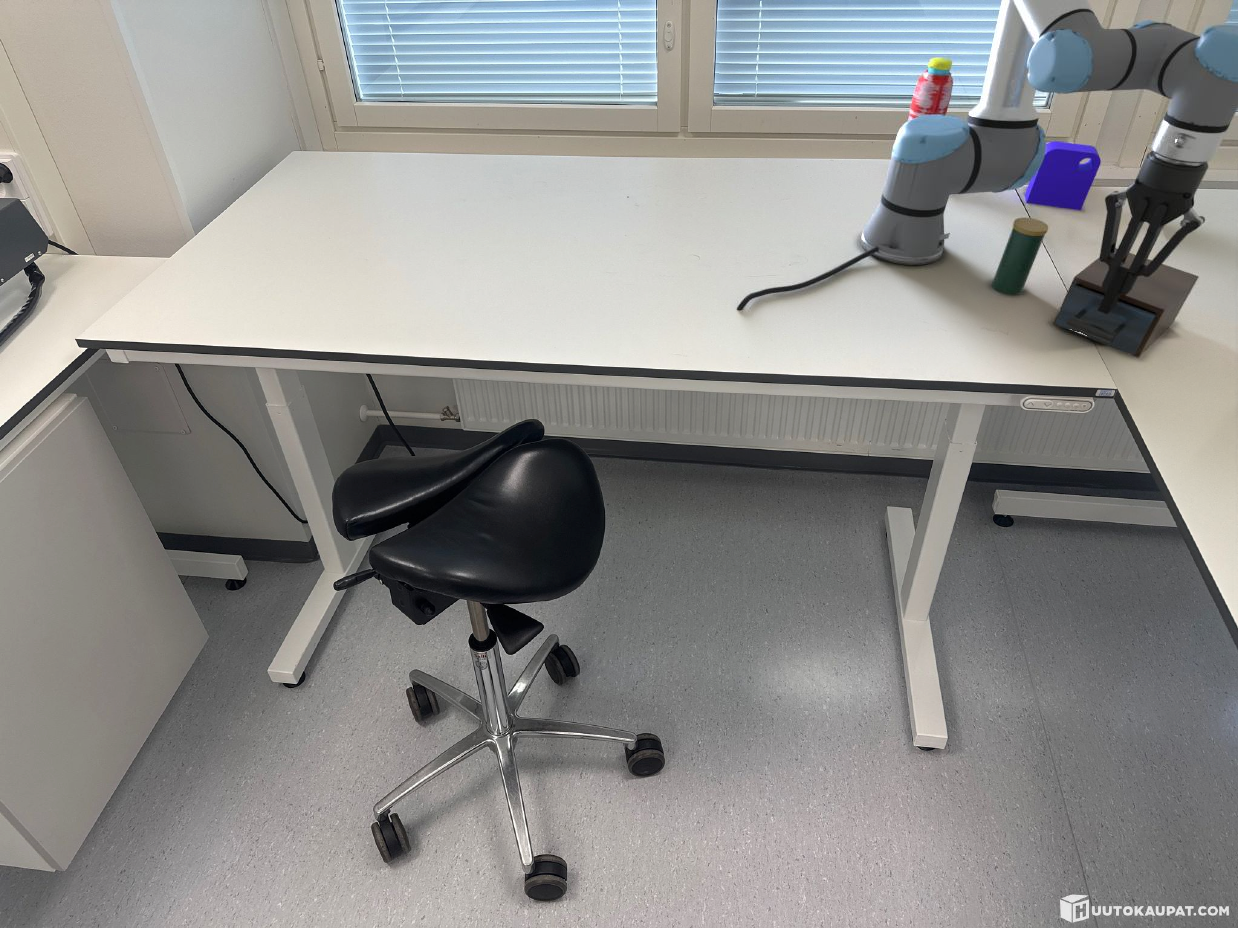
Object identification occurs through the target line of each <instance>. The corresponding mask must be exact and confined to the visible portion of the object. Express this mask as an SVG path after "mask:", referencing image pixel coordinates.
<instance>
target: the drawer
mask: <svg viewBox="0 0 1238 928" xmlns="http://www.w3.org/2000/svg"><path fill="white" fill-rule="evenodd" d="M1104 296H1105V294H1104V293H1102V292H1099V291H1096V290H1094V289H1091V288H1088V287H1086V286H1083V285H1082V287H1080V286H1077V285H1073V286H1072V287H1071V289H1070V291H1069V293H1068V295H1067V298H1066V300H1065V302H1064V304H1063V307H1062V309H1061V311H1060V313H1059V316H1058V318H1057V320H1056V322H1055V324H1054V325H1056V324H1057V325H1056V326H1058V325H1059V326H1058V327H1061V328H1063V327H1064V328H1063V329H1065V328H1066V330H1068V329H1072V330H1073V331H1077V332H1081V333H1083V334H1085V335H1087V337H1086V338H1088V337H1089V338H1088V339H1090V338H1091V339H1090V340H1093V339H1094V340H1093V341H1095V340H1096V341H1095V342H1098V341H1099V342H1098V343H1100V342H1101V343H1100V344H1102V343H1103V345H1105V344H1106V345H1105V346H1107V345H1108V346H1107V347H1110V346H1111V347H1110V348H1112V347H1113V349H1115V348H1116V349H1115V350H1117V349H1118V350H1117V351H1120V350H1121V351H1120V352H1122V351H1123V352H1122V353H1125V352H1126V353H1125V354H1127V353H1128V354H1127V355H1130V354H1131V355H1130V356H1132V355H1134V354H1135V353H1136V352H1137V350H1138V348H1139V346H1140V344H1141V342H1142V340H1143V339H1144V337H1145V335H1146V333H1147V331H1148V329H1149V328H1150V326H1151V324H1152V322H1153V320H1154V318H1155V316H1156V315H1155V313H1156V312H1153V311H1150V310H1147V309H1145V308H1142V307H1139V306H1137V305H1134V304H1131V303H1129V302H1126V301H1123V300H1121V299H1118V301H1117V303H1116V305H1115V307H1114V309H1113V310H1111V311H1110V312H1109V313H1108V314H1105V313H1103V312H1100V311H1097V310H1098V308H1099V306H1100V304H1101V302H1102V300H1103V298H1104ZM1072 330H1071V332H1073V331H1072ZM1077 332H1076V334H1078V333H1077ZM1081 336H1083V335H1082V334H1081Z"/></svg>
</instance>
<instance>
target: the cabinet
mask: <svg viewBox="0 0 1238 928" xmlns="http://www.w3.org/2000/svg"><path fill="white" fill-rule="evenodd" d="M1117 249H1118V247H1115V253H1116V251H1117ZM1115 253H1114V254H1115ZM1135 256H1136V254H1135V253H1132V252H1129V254H1128V256H1127V258H1126V262H1125V263H1124V264H1123V265H1122V267H1125V268H1128V269H1129V268H1130V266H1131V264H1132V262H1133V260H1134V258H1135ZM1152 260H1153V259H1150V258H1148V259H1147V261H1146V263H1145V265H1148V264H1149V263H1150V262H1151V261H1152ZM1108 270H1109V266H1108V265H1107V264H1106V263H1105V262H1101V261H1100V260H1099V257H1098V258H1096V259H1095V260H1094V261H1093V262H1091V263H1090V264H1089V265H1087V266H1086V267H1085V268H1084V269H1082V270H1081V271H1080V272H1079V273H1077V274H1076V275H1075V276H1074V277H1073V278H1072V281H1071V284H1070V285H1069V288H1068V289H1067V292H1066V295H1065V297H1064V299H1063V302H1062V303H1061V306H1060V308H1059V310H1058V313H1057V314H1056V317H1055V319H1054V322H1053V325H1056V326H1057V327H1060V326H1059V325H1057V324H1055V322H1056V320H1057V318H1058V316H1059V313H1060V311H1061V309H1062V307H1063V304H1064V302H1065V300H1066V298H1067V295H1068V293H1069V291H1070V289H1071V287H1072V286H1073V285H1077V286H1080V287H1082V285H1083V286H1086V287H1088V288H1091V289H1094V290H1096V291H1099V292H1102V293H1104V294H1106V291H1107V289H1105V288H1102V283H1103V281H1104V279H1105V276H1106V274H1107V272H1108ZM1199 278H1200V276H1199V275H1196V274H1193V273H1190V272H1188V271H1185V270H1182V269H1179V268H1176V267H1173V266H1171V265H1167V264H1164V263H1162V264H1161V266H1160V267H1159V268H1158V269H1157V270H1156V271H1155V272H1154V273H1153V274H1152V275H1150V276H1149V277H1144V276H1138V277H1137V279H1136V281H1135V283H1134V286H1133V288H1132V290H1131V291H1130V292H1128V293H1127V294H1126V295H1122V294H1121V295H1120V297H1119V299H1121V300H1123V301H1126V302H1129V303H1131V304H1134V305H1137V306H1139V307H1142V308H1145V309H1147V310H1150V311H1153V312H1156V313H1155V315H1156V316H1155V318H1154V320H1153V322H1152V324H1151V326H1150V328H1149V329H1148V331H1147V333H1146V335H1145V337H1144V339H1143V340H1142V342H1141V344H1140V346H1139V348H1138V350H1137V352H1136V353H1135V354H1134V355H1131V354H1128V353H1126V352H1123V351H1121V350H1118V349H1116V348H1113V347H1111V346H1108V345H1106V344H1103V343H1101V342H1099V341H1096V340H1094V339H1091V338H1089V337H1086V336H1084V335H1081V334H1079V333H1076V332H1074V331H1071V330H1069V329H1066V328H1064V327H1062V328H1063V329H1066V330H1068V331H1071V332H1073V333H1076V334H1078V335H1081V336H1083V337H1085V338H1088V339H1090V340H1093V341H1095V342H1098V343H1100V344H1103V345H1105V346H1107V347H1110V348H1113V349H1115V350H1117V351H1119V352H1122V353H1124V354H1127V355H1130V356H1132V357H1134V358H1137V359H1139V358H1140V357H1141V356H1142V355H1143V354H1144V353H1145V352H1146V351H1147V350H1148V349H1149V348H1150V347H1151V346H1152V345H1153V344H1154V343H1155V342H1156V341H1157V340H1158V339H1159V338H1160V337H1161V336H1162V335H1163V334H1164V333H1165V332H1166V331H1167V330H1168V329H1169V328H1170V327H1171V326H1172V325H1173V324H1174V322H1175V321H1176V318H1177V317H1178V315H1179V313H1180V311H1181V309H1182V308H1183V306H1184V305H1185V303H1186V301H1187V299H1188V298H1189V296H1190V294H1191V292H1192V290H1193V288H1194V286H1195V284H1196V283H1197V281H1198V279H1199Z"/></svg>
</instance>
